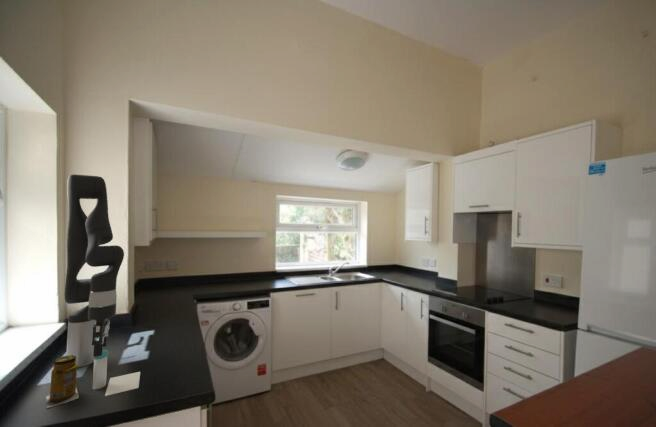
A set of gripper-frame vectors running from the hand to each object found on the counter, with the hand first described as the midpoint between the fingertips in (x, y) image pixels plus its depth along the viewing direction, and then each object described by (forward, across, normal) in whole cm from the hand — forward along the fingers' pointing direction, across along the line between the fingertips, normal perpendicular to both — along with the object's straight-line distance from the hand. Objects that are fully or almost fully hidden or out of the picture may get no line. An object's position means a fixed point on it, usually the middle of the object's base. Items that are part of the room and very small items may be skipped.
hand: (100, 351), depth 95 cm
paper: (+12, +1, +7) cm, 14 cm away
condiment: (+12, +2, -9) cm, 15 cm away
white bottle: (+12, 0, 0) cm, 12 cm away
